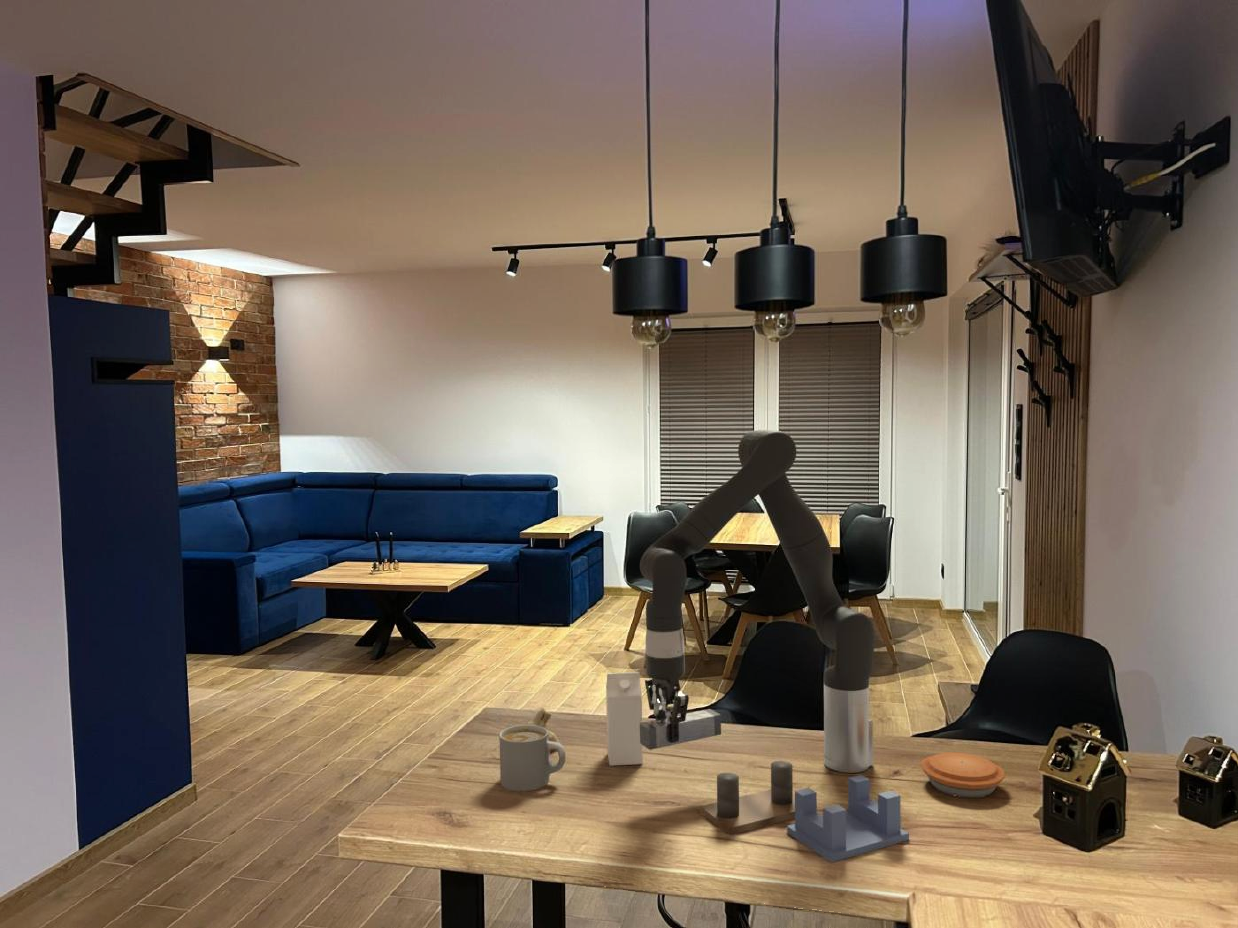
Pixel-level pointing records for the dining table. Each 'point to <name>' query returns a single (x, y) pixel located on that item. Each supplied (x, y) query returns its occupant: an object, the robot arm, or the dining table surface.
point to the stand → (752, 802)
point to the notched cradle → (848, 822)
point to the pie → (962, 774)
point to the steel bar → (681, 729)
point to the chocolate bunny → (544, 725)
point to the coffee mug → (527, 757)
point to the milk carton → (624, 718)
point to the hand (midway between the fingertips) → (667, 737)
